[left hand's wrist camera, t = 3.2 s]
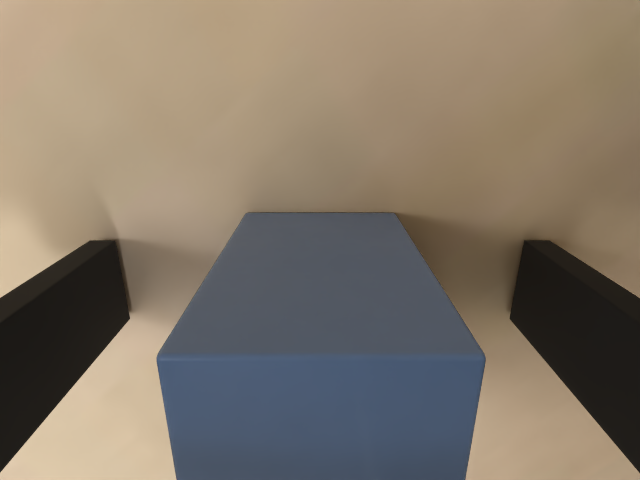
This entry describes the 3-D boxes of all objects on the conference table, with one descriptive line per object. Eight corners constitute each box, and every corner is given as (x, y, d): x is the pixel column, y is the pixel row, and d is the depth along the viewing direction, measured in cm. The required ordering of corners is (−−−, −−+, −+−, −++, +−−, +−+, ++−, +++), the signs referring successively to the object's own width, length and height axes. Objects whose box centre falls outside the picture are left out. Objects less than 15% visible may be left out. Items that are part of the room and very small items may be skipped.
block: (387, 340, 13) (451, 575, 7) (253, 339, 13) (190, 575, 7) (395, 211, 12) (489, 356, 5) (245, 211, 12) (152, 356, 5)
